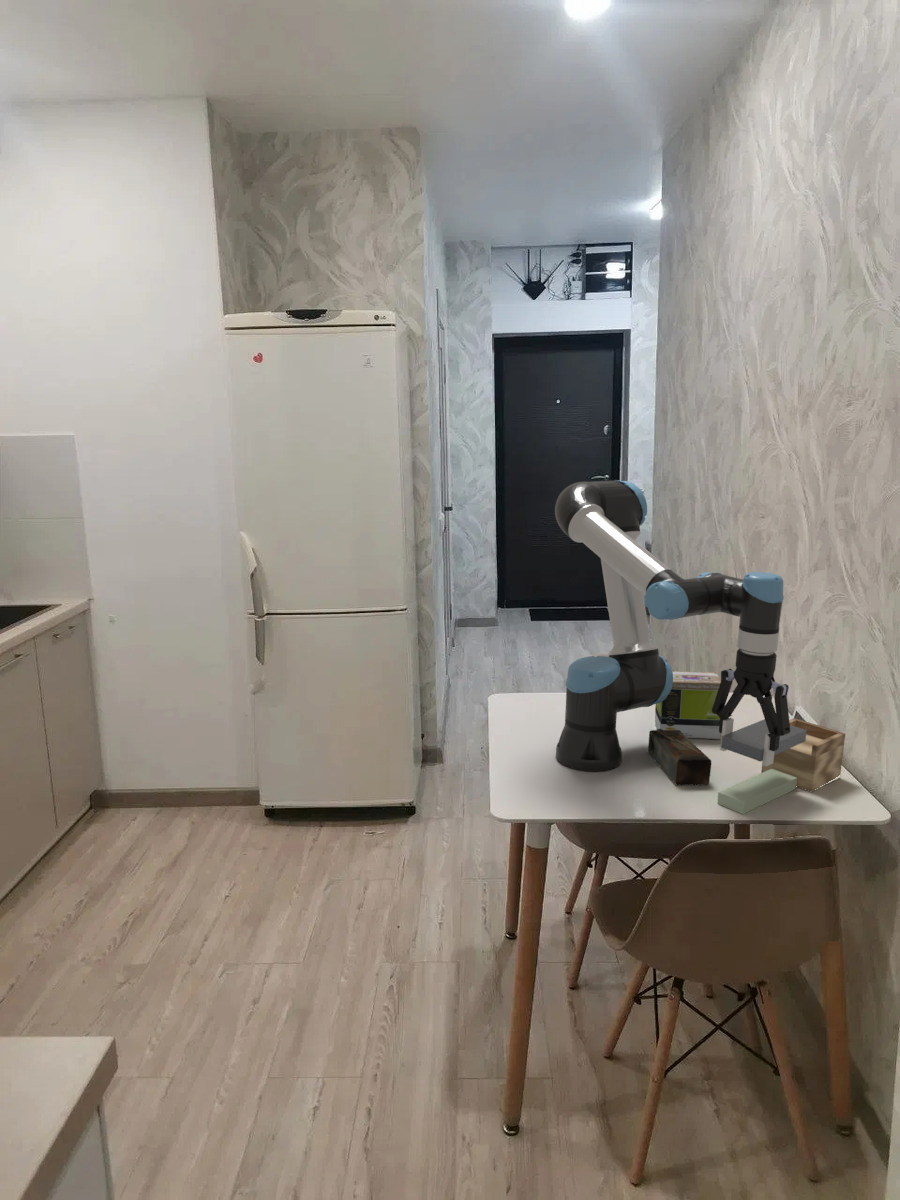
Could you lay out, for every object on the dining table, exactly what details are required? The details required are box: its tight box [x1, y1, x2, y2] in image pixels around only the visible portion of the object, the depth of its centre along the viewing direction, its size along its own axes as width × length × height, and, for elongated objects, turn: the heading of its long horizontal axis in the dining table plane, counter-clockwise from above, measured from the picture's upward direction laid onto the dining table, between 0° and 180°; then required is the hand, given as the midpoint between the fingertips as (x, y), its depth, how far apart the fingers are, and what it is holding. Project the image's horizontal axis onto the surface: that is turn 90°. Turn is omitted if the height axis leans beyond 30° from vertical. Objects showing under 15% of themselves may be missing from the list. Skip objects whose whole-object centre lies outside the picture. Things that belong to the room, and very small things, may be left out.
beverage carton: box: [647, 728, 712, 786], centre depth 194 cm, size 8×19×7 cm, turn 6°
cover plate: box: [720, 718, 807, 762], centre depth 179 cm, size 17×9×2 cm, turn 129°
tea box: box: [654, 670, 722, 740], centre depth 216 cm, size 15×10×15 cm, turn 84°
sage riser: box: [717, 769, 797, 815], centre depth 181 cm, size 20×6×2 cm, turn 129°
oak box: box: [760, 717, 846, 792], centre depth 191 cm, size 12×12×10 cm
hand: (746, 756), depth 176 cm, fingers closed on cover plate, 9 cm apart
